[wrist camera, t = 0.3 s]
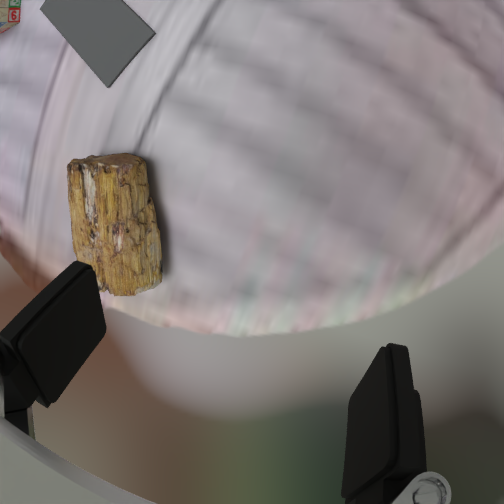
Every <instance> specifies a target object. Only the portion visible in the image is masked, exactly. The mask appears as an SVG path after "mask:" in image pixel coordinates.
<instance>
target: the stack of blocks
mask: <svg viewBox="0 0 504 504" xmlns="http://www.w3.org/2000/svg"><path fill="white" fill-rule="evenodd" d="M20 5H21V0H0V33H2V32H4V31H6V30H7V29H9V28H10V27H12V26H14V25H16V24H18V23H19V22H20Z"/></svg>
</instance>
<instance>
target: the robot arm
mask: <svg viewBox="0 0 504 504" xmlns="http://www.w3.org/2000/svg"><path fill="white" fill-rule="evenodd" d="M105 333H106V323H105V319H104V314H103V309H102V304H101V299H100V294H99V288H98V283H97V277H96V272H95V271H94V270H93V267H92V266H91V265H89V264H87V263H84V262H81V261H74V262H73V263H72V264H71V265H69V266H68V267H67V268H66V269H65V270H64V271H63V272H62V273H60V274H59V275H58V276H57V277H56V278H55V279H54V280H53V281H52V282H51V283H50V284H49V285H47V286H46V287H45V288H44V289H43V290H42V291H41V292H40V293H39V294H38V295H37V296H36V297H35V298H34V299H33V300H32V301H31V302H30V303H29V304H28V305H27V306H26V307H24V308H23V310H21V311H20V312H19V313H18V315H17V316H15V317H14V319H13V320H12V321H11V322H10V323H9V324H8V325H7V326H6V327H5V328H4V329H3V330H2V331H1V332H0V504H156V503H154V502H151V501H149V500H146V499H143V498H141V497H139V496H137V495H134V494H132V493H129V492H127V491H125V490H123V489H120V488H118V487H116V486H114V485H112V484H110V483H108V482H106V481H104V480H102V479H100V478H98V477H96V476H94V475H92V474H90V473H88V472H87V471H85V470H83V469H81V468H79V467H78V466H76V465H74V464H72V463H71V462H69V461H67V460H65V459H64V458H62V457H60V456H59V455H57V454H56V453H54V452H52V451H51V450H49V449H48V448H46V447H44V446H43V445H41V444H40V443H38V442H37V441H36V439H35V432H34V421H33V410H32V404H33V403H34V401H35V400H36V401H37V402H38V403H40V404H42V405H43V406H45V407H46V408H48V407H49V406H50V404H51V403H54V402H56V401H57V400H58V398H59V397H60V395H61V394H62V393H63V391H64V390H65V388H66V387H67V385H68V384H69V383H70V381H71V380H72V379H73V377H74V376H75V374H76V373H77V372H78V370H79V369H80V368H81V366H82V365H83V364H84V362H85V361H86V359H87V358H88V357H89V355H90V354H91V353H92V351H93V350H94V349H95V347H96V346H97V345H98V344H99V342H100V341H101V340H102V338H103V337H104V335H105ZM341 496H342V498H346V500H345V504H449V503H450V500H451V489H450V486H449V484H448V482H447V481H446V480H445V478H444V477H443V476H441V475H439V474H438V473H434V472H427V468H426V451H425V438H424V427H423V417H422V408H421V400H420V395H419V393H418V391H417V390H414V386H413V379H412V372H411V365H410V358H409V352H408V348H407V347H406V346H403V345H397V344H393V343H389V344H387V346H386V347H381V348H380V349H379V351H378V353H377V355H376V356H375V358H374V360H373V361H372V363H371V365H370V367H369V368H368V370H367V372H366V373H365V375H364V377H363V378H362V380H361V381H360V383H359V384H358V386H357V388H356V389H355V391H354V392H353V394H352V396H351V398H350V401H349V406H348V423H347V437H346V451H345V462H344V472H343V481H342V490H341Z"/></svg>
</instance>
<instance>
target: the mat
mask: <svg viewBox="0 0 504 504" xmlns="http://www.w3.org/2000/svg"><path fill="white" fill-rule="evenodd" d="M40 10H41V11H42V12H43V13H44V15H45V16H46V17H47V18H48V19H49V20H50V22H51V23H52V24H53V25H54V26H55V27H56V29H57V30H58V31H59V32H60V33H61V34H62V36H63V37H64V38H65V39H66V40H67V41H68V43H69V44H70V45H71V46H72V47H73V48H74V50H75V51H76V52H77V53H78V54H79V55H80V57H81V58H82V59H83V60H84V61H85V62H86V64H87V65H88V66H89V67H90V68H91V69H92V71H93V72H94V73H95V74H96V75H97V76H98V78H99V79H100V80H101V81H102V82H103V83H104V84H105V86H106V87H107V88H109V87H110V86H111V85H112V84H113V82H114V81H115V80H116V78H117V77H118V76H119V75H120V74H121V72H122V71H123V70H124V69H125V67H126V66H127V65H128V64H129V63H130V62H131V60H132V59H133V58H134V57H135V56H136V55H137V53H138V52H139V51H140V50H141V49H142V48H143V47H144V46H145V45H146V43H147V42H148V41H149V40H150V39H151V38H152V37H153V36H154V35H155V34H156V33H155V32H154V31H153V30H152V29H151V28H150V27H149V26H148V25H147V24H146V23H145V22H144V21H143V20H142V19H141V18H140V17H139V16H138V15H137V14H136V13H135V12H134V11H133V10H132V9H131V8H130V7H129V6H128V5H127V4H126V3H125V2H124V1H123V0H45V2H44V3H43V5H42V6H41V8H40Z"/></svg>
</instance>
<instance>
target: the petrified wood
mask: <svg viewBox="0 0 504 504" xmlns="http://www.w3.org/2000/svg"><path fill="white" fill-rule="evenodd" d="M67 171H68V173H67V181H68V201H69V209H70V217H71V229H72V238H73V248H74V252H75V254H76V257H77V261H81V262H84V263H87V264H89V265H91V266H92V267H93V270H94V271H95V272H96V277H97V283H98V288H99V292H105V291H106V290H107V289H108V291H109V293H110V294H114V296H135V295H136V294H138V293H141V292H143V291H147V290H149V289H153V288H155V287H156V286H157V285H158V284H159V283H161V282H162V252H161V243H160V230H159V229H158V228H157V223H156V211H155V209H154V204H153V201H152V198H150V197H149V184H148V181H147V170H146V163H145V161H144V160H143V159H142V158H141V157H137V156H134V155H130V154H128V153H122V154H113V155H107V156H94V155H91V156H88V157H87V158H86V159H85V158H84V159H73V160H72V161H71V162H70V163H69V164H68V165H67Z"/></svg>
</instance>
